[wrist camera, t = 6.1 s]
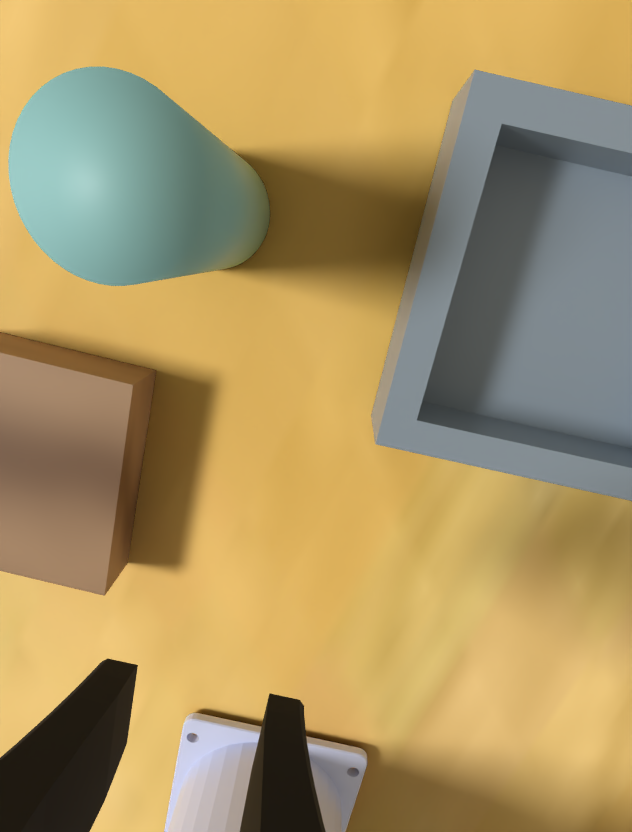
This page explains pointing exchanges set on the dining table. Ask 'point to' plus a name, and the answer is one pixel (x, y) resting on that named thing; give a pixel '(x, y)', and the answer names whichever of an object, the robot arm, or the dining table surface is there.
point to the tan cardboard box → (69, 462)
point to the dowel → (130, 182)
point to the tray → (521, 293)
